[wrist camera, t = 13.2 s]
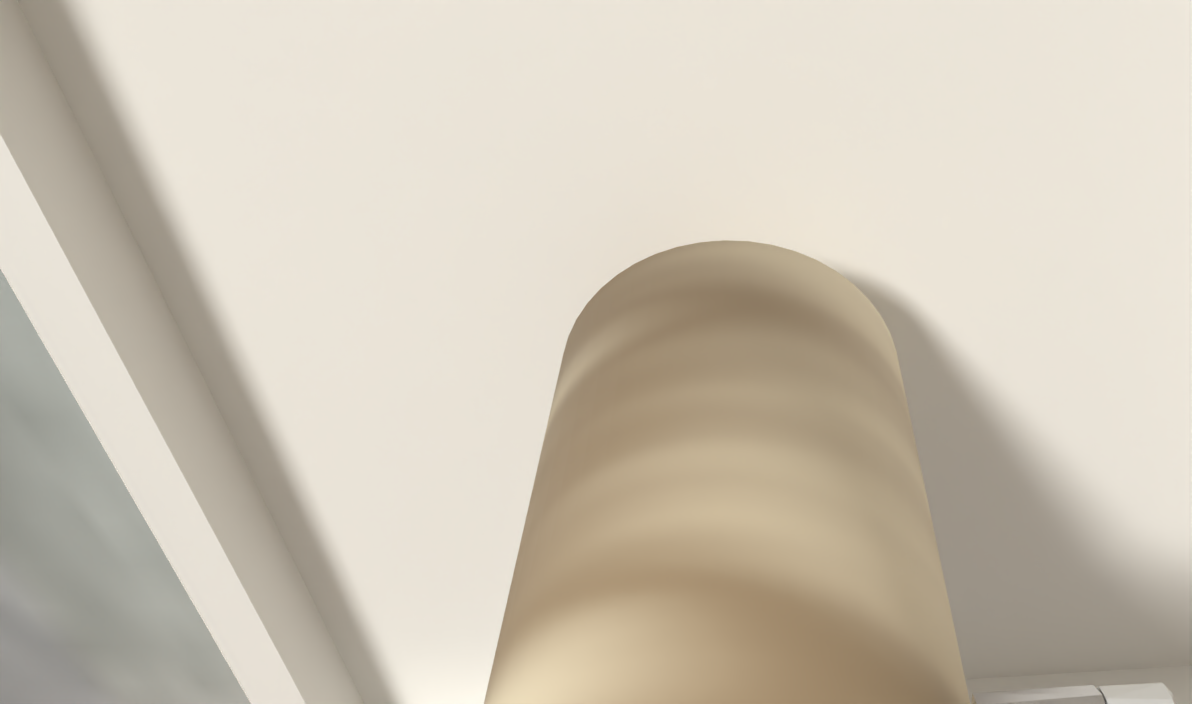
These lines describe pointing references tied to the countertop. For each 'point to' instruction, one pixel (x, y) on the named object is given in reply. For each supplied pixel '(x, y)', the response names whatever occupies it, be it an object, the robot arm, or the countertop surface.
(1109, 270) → the tray
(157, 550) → the countertop surface
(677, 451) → the dowel pin
